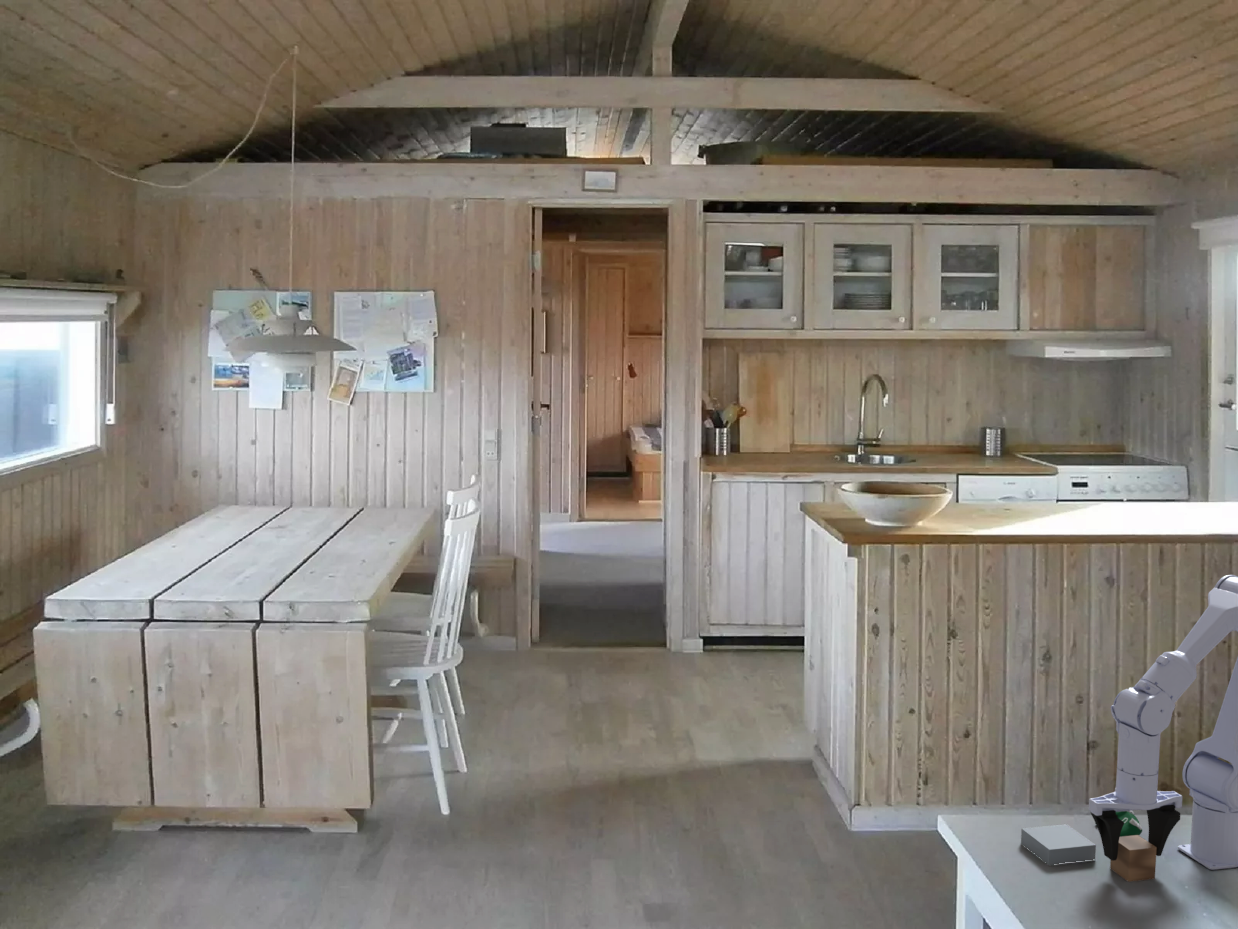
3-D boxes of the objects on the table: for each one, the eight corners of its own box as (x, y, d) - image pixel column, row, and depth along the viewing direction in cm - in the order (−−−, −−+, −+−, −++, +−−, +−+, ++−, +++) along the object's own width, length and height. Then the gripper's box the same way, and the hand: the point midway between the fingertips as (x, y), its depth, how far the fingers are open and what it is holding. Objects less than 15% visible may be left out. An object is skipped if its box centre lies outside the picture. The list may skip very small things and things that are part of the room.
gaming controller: (1119, 859, 192) (1149, 836, 190) (1102, 841, 192) (1132, 818, 191) (1107, 835, 201) (1136, 813, 199) (1091, 818, 201) (1120, 796, 200)
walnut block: (1136, 866, 185) (1137, 835, 185) (1154, 879, 181) (1156, 847, 180) (1110, 868, 184) (1111, 837, 184) (1128, 882, 180) (1129, 850, 179)
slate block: (1065, 841, 195) (1066, 824, 194) (1095, 863, 187) (1095, 844, 187) (1020, 846, 193) (1021, 828, 193) (1048, 868, 185) (1049, 849, 185)
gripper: (1162, 756, 186) (1158, 840, 188) (1078, 763, 183) (1074, 848, 185) (1193, 772, 179) (1188, 859, 181) (1106, 780, 176) (1102, 868, 178)
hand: (1132, 855), depth 182 cm, fingers open, 7 cm apart
